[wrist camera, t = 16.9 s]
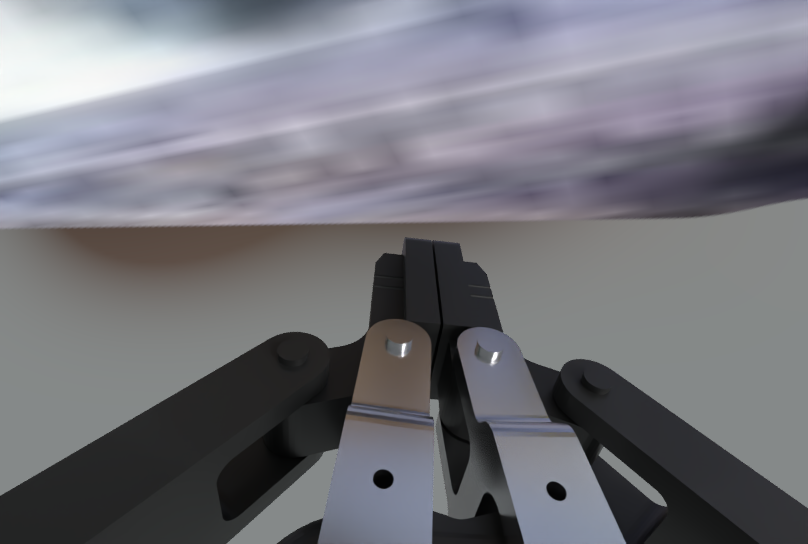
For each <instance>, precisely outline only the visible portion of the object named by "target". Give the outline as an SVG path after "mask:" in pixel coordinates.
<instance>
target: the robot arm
mask: <svg viewBox="0 0 808 544" xmlns="http://www.w3.org/2000/svg"><path fill="white" fill-rule="evenodd" d="M430 399H438V400H439V414H438V418H437V422H436V433H437V440H438V446H439V452H440V459H441V464H442V471H443V477H444V484H445V490H446V496H447V504H448V516H446V515H443V514H440V513H437V512H434V511H433V463H434V459H433V458H434V420H433V417H430V415H429V409H430ZM603 447H605V448H607V449H608V450H609V451H610V452H612V453H613V454H614V455H615V456H616V457H617V458H619V459H620V460H621V461H622V462H624V463H625V464H626V465H627V466H628V467H630V468H631V469H632V470H633V471H634V472H636V473H637V474H638V475H639V476H640V477H641V478H643V479H644V480H645V481H646V482H647V483H649V484H650V485H651V486H652V487H653V488H655V489H656V490H657V491H658V492H659V493H660V494H661V495H662V497H663V498H664V500H665V502H666V504H667V507H664V506H660V505H658V504H656V503H654V502H653V501H651V500H650V499H649V498H648V497H646V496H645V495H644V494H643V493H642V492H640V491H639V490H638V489H637V488H636V487H635V486H633V485H632V484H631V483H630V482H629V481H628V480H626V479H625V478H624V477H623V476H622V475H621V474H619V473H618V472H617V471H616V470H615V469H614V468H612V467H611V466H610V465H609V464H608V463H607V462H605V461H604V460H603V459H602V458H601V457H600V456H598V455H599V453H600V451H601V450H602V448H603ZM338 448H339V449H338ZM333 449H338V454H337V458H336V463H335V467H334V471H333V476H332V481H331V485H330V489H329V494H328V499H327V503H326V508H325V512H324V517H323V518H322V519H320V520H317V521H314V522H311V523H309V524H308V525H305V526H303V527H301V528H299V529H297V530H296V531H294V532H293V533H291V534H289V535H288V536H286V537H285V538H284V539H282V540H281V541H280V542H279V543H277V544H808V508H807V507H805V506H804V505H802V504H801V503H799V502H798V501H797V500H795V499H794V498H792V497H791V496H790V495H788V494H787V493H785V492H784V491H783V490H781V489H780V488H778V487H777V486H775V485H774V484H773V483H771V482H770V481H768V480H767V479H765V478H764V477H763V476H761V475H760V474H758V473H757V472H755V471H754V470H753V469H751V468H750V467H749V466H747V465H746V464H744V463H743V462H741V461H740V460H739V459H737V458H736V457H734V456H733V455H731V454H730V453H729V452H727V451H726V450H724V449H723V448H722V447H720V446H719V445H717V444H716V443H715V442H713V441H712V440H710V439H709V438H707V437H706V436H704V435H703V434H702V433H700V432H699V431H698V430H696V429H695V428H693V427H692V426H690V425H689V424H688V423H686V422H685V421H683V420H682V419H680V418H679V417H678V416H676V415H675V414H673V413H672V412H670V411H669V410H668V409H666V408H665V407H664V406H662V405H661V404H659V403H658V402H657V401H655V400H654V399H652V398H651V397H649V396H648V395H646V394H645V393H644V392H642V391H641V390H639V389H638V388H637V387H635V386H634V385H632V384H631V383H630V382H628V381H627V380H625V379H624V378H622V377H621V376H620V375H618V374H617V373H615V372H614V371H612V370H611V369H609V368H608V367H606V366H604V365H602V364H600V363H597V362H594V361H591V360H584V359H576V360H571V361H569V362H567V363H566V364H564V366H563V367H562V369H561V371H560V372H559V371H556V370H553V369H550V368H547V367H544V366H541V365H538V364H535V363H533V362H530V361H528V360H526V359H525V358H523V355H522V353H521V350H520V348H519V346H518V345H517V344H516V342H515V341H514V340H513V339H511V338H510V337H509V336H507V335H506V334H504V333H503V330H502V327H501V323H500V320H499V316H498V312H497V309H496V305H495V302H494V299H493V295H492V291H491V289H490V284H489V281H488V277H487V274H486V273H485V272H484V271H483V270H482V269H481V267H480V266H479V265H478V264H477V263H472V262H464V261H463V257H462V253H461V248H460V244H459V243H452V242H443V241H434V240H433V241H431V240H424V239H415V238H406V237H405V239H404V244H403V250H402V255H397V254H387V253H384V254H383V255H382V256H381V257H380V258H379V260H378V261H377V262H376V265H375V274H374V283H373V292H372V301H371V311H370V321H369V329H368V331H367V332H366V334H365V335H364V336H363V337H362V338H361V339H359V340H358V341H356V342H354V343H351V344H349V345H345V346H340V347H334V348H328V347H327V346H326V344H325V343H324V342H323V341H322V340H321V339H319V338H318V337H316V336H314V335H311V334H308V333H302V332H290V333H289V332H288V333H283V334H280V335H277V336H274V337H272V338H270V339H268V340H267V341H265V342H264V343H262V344H260V345H258V346H257V347H255V348H253V349H251V350H250V351H248V352H246V353H244V354H243V355H241V356H239V357H238V358H236V359H234V360H233V361H231V362H229V363H227V364H226V365H224V366H222V367H221V368H219V369H217V370H215V371H214V372H212V373H210V374H208V375H207V376H205V377H203V378H202V379H200V380H198V381H196V382H195V383H193V384H191V385H190V386H188V387H186V388H184V389H183V390H181V391H179V392H178V393H176V394H174V395H172V396H171V397H169V398H167V399H166V400H164V401H162V402H160V403H159V404H157V405H155V406H154V407H152V408H150V409H149V410H147V411H145V412H143V413H142V414H140V415H138V416H136V417H135V418H133V419H132V420H130V421H128V422H126V423H124V424H123V425H121V426H119V427H118V428H116V429H114V430H112V431H111V432H109V433H107V434H106V435H104V436H102V437H100V438H99V439H97V440H95V441H94V442H92V443H90V444H88V445H87V446H85V447H83V448H82V449H80V450H78V451H76V452H75V453H73V454H71V455H70V456H68V457H67V458H64V459H63V460H61V461H59V462H58V463H56V464H54V465H52V466H51V467H49V468H47V469H46V470H44V471H42V472H41V473H39V474H37V475H36V476H34V477H32V478H30V479H28V480H27V481H25V482H23V483H22V484H20V485H18V486H16V487H15V488H13V489H11V490H10V491H8V492H6V493H4V494H3V495H1V496H0V544H226V543H227V542H229V541H230V540H231V539H232V538H233V537H234V536H235V535H236V534H238V533H239V532H240V531H241V530H242V529H243V528H244V527H245V526H246V525H248V524H249V523H250V522H251V521H252V520H253V519H254V518H255V517H256V516H257V515H258V514H260V513H261V512H262V511H263V510H264V509H265V508H266V507H267V506H269V505H270V504H271V503H272V502H273V501H274V500H275V499H276V498H277V497H279V496H280V495H281V494H282V493H283V492H284V491H285V490H286V489H287V488H289V487H290V486H291V485H292V484H293V483H294V482H295V481H296V480H297V479H299V478H300V477H301V476H302V475H303V474H304V473H305V472H306V471H307V470H309V469H310V468H311V467H312V466H313V465H314V464H315V463H316V462H317V461H318V460H319V459H320V457H321V456H322V454H323V452H325V451H329V450H333Z"/></svg>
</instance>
